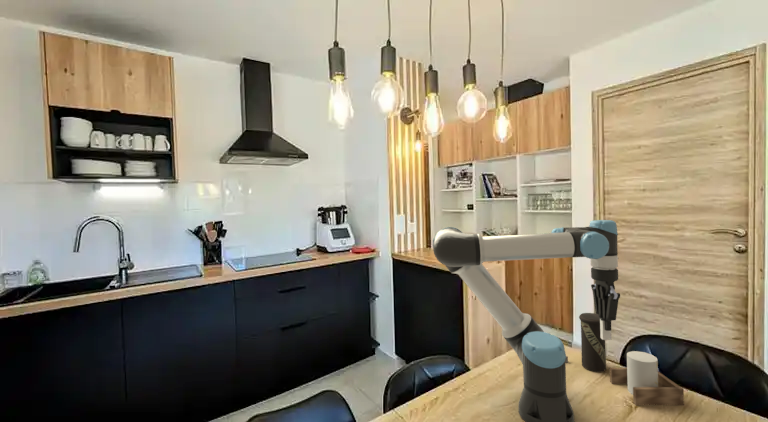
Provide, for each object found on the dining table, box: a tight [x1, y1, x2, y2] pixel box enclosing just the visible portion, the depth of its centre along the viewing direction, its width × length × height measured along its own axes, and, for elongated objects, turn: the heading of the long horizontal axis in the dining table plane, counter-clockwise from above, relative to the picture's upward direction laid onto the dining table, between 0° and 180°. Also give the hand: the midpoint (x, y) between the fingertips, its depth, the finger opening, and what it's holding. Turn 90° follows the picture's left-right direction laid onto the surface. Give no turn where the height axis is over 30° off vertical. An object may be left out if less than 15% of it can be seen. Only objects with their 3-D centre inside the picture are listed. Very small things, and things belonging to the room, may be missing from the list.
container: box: [578, 312, 607, 373], centre depth 134 cm, size 9×9×20 cm
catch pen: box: [609, 367, 685, 406], centre depth 115 cm, size 14×14×5 cm
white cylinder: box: [626, 350, 659, 396], centre depth 115 cm, size 8×8×12 cm
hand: (606, 338), depth 116 cm, fingers closed
